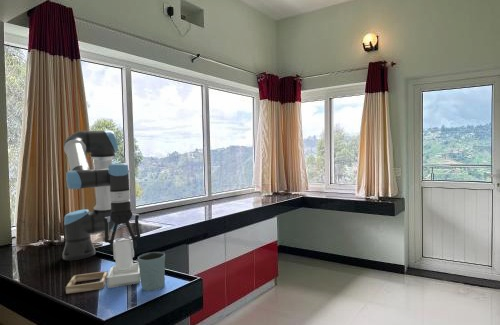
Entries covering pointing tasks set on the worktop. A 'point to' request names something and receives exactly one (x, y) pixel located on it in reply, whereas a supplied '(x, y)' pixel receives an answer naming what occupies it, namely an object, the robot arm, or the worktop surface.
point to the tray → (123, 276)
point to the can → (123, 254)
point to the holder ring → (89, 286)
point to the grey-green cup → (152, 270)
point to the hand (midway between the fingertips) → (124, 257)
